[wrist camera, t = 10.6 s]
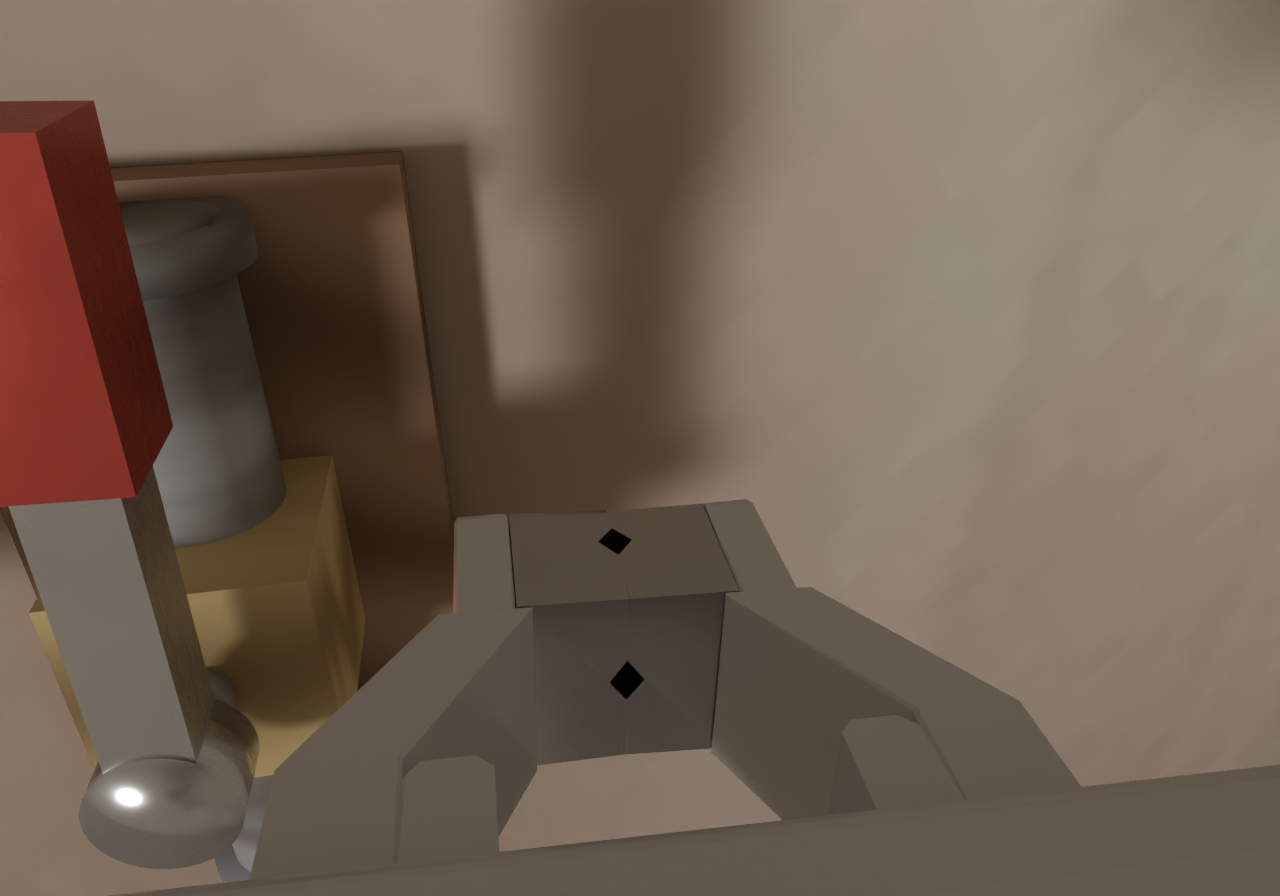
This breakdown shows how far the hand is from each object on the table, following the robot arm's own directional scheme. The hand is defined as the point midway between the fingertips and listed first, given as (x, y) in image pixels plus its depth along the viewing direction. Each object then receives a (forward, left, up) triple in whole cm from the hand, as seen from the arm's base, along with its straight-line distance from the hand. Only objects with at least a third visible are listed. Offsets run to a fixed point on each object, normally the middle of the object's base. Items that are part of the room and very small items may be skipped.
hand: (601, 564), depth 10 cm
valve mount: (-11, +9, -19) cm, 23 cm away
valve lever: (-4, +8, -10) cm, 14 cm away
